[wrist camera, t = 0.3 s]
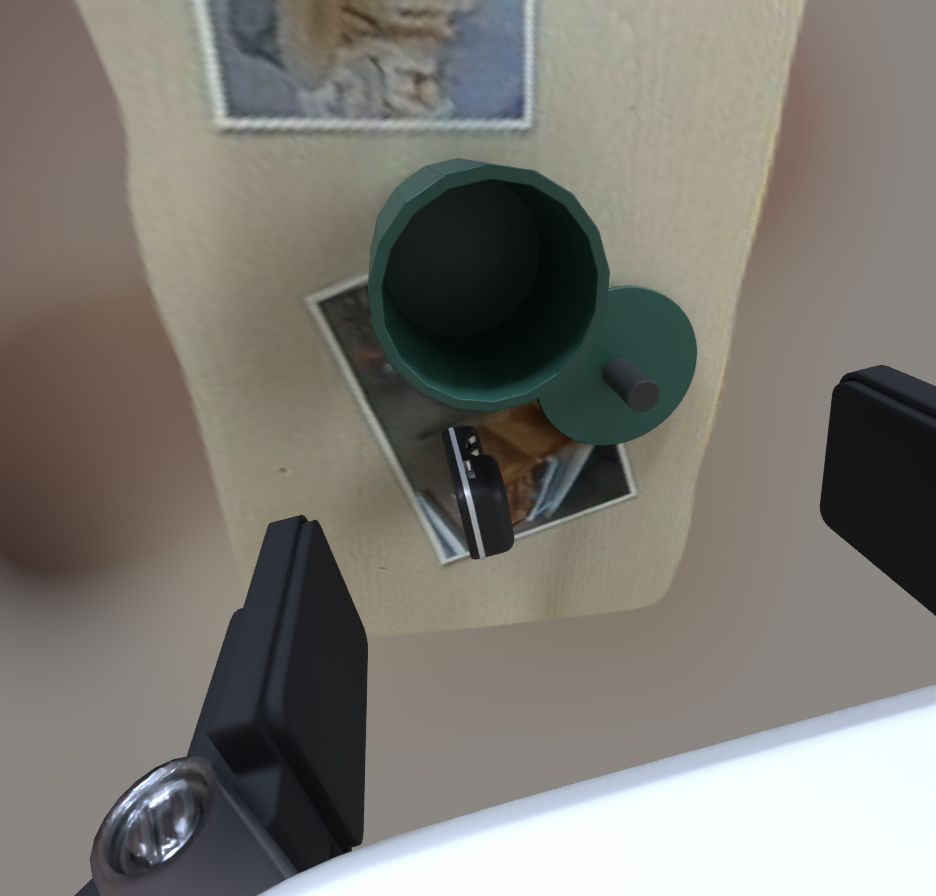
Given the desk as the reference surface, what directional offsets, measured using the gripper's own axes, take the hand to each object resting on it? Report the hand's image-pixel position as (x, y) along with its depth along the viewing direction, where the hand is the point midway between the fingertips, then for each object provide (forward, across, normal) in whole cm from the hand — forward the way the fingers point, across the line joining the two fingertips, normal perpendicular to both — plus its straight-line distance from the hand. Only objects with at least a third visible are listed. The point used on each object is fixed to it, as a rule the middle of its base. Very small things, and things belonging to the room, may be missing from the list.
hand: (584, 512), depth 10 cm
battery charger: (+37, +1, +19) cm, 41 cm away
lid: (+36, -13, +14) cm, 41 cm away
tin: (+36, -2, +2) cm, 37 cm away
